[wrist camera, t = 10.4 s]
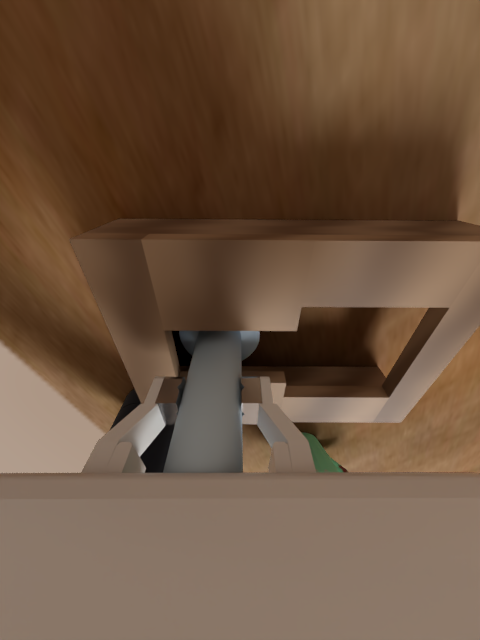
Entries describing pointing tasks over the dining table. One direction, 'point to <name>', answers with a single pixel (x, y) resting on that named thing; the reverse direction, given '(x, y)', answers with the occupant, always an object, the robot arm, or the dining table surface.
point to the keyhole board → (287, 298)
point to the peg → (211, 404)
